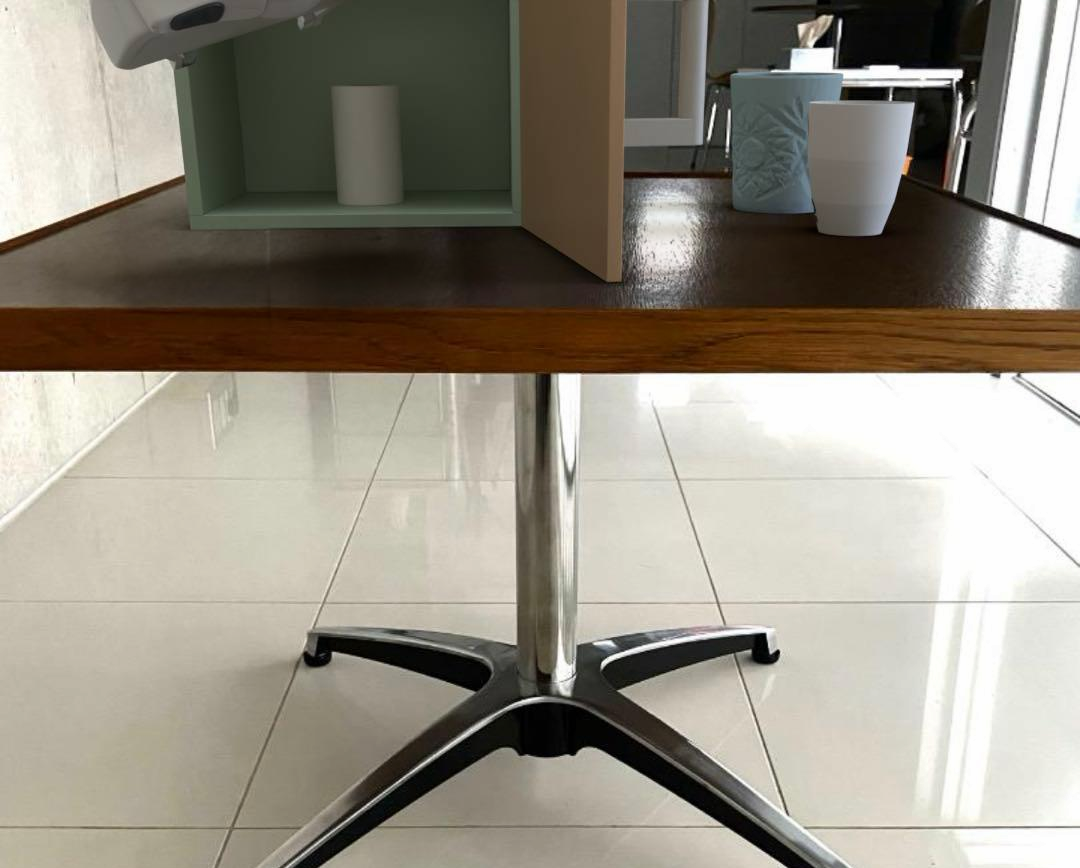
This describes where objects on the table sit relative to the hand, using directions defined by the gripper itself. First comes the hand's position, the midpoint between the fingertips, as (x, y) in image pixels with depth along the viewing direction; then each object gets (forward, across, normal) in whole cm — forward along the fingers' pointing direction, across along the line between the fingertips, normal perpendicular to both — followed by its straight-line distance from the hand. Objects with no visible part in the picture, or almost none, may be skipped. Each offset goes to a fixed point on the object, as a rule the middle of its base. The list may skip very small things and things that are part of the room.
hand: (242, 37), depth 84 cm
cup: (0, -40, +29) cm, 49 cm away
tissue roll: (+24, -12, +8) cm, 28 cm away
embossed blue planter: (+15, -45, +24) cm, 53 cm away
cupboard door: (-2, -18, +23) cm, 29 cm away
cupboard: (+25, -11, +9) cm, 29 cm away
